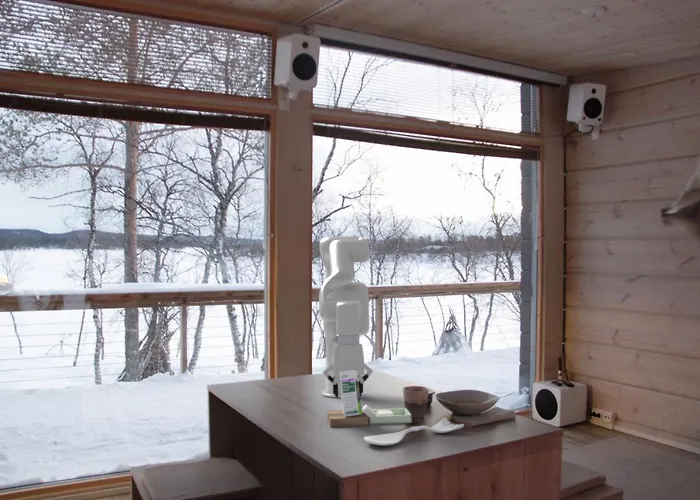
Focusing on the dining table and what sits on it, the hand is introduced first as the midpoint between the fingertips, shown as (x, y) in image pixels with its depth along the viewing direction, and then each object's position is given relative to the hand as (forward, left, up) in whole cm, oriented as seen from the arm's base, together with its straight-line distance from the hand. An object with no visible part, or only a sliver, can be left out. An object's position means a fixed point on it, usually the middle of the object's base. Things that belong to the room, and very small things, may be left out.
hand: (348, 395), depth 202 cm
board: (0, 0, -9) cm, 9 cm away
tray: (0, +13, -9) cm, 16 cm away
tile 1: (+1, +6, -6) cm, 9 cm away
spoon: (+20, +17, -9) cm, 27 cm away
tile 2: (-1, +12, -6) cm, 14 cm away
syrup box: (+1, +1, -6) cm, 6 cm away
